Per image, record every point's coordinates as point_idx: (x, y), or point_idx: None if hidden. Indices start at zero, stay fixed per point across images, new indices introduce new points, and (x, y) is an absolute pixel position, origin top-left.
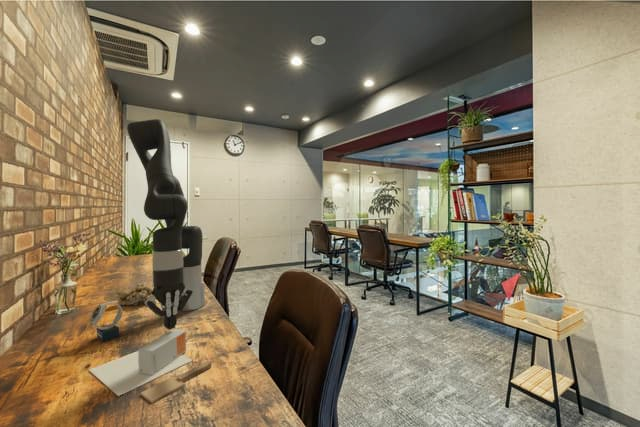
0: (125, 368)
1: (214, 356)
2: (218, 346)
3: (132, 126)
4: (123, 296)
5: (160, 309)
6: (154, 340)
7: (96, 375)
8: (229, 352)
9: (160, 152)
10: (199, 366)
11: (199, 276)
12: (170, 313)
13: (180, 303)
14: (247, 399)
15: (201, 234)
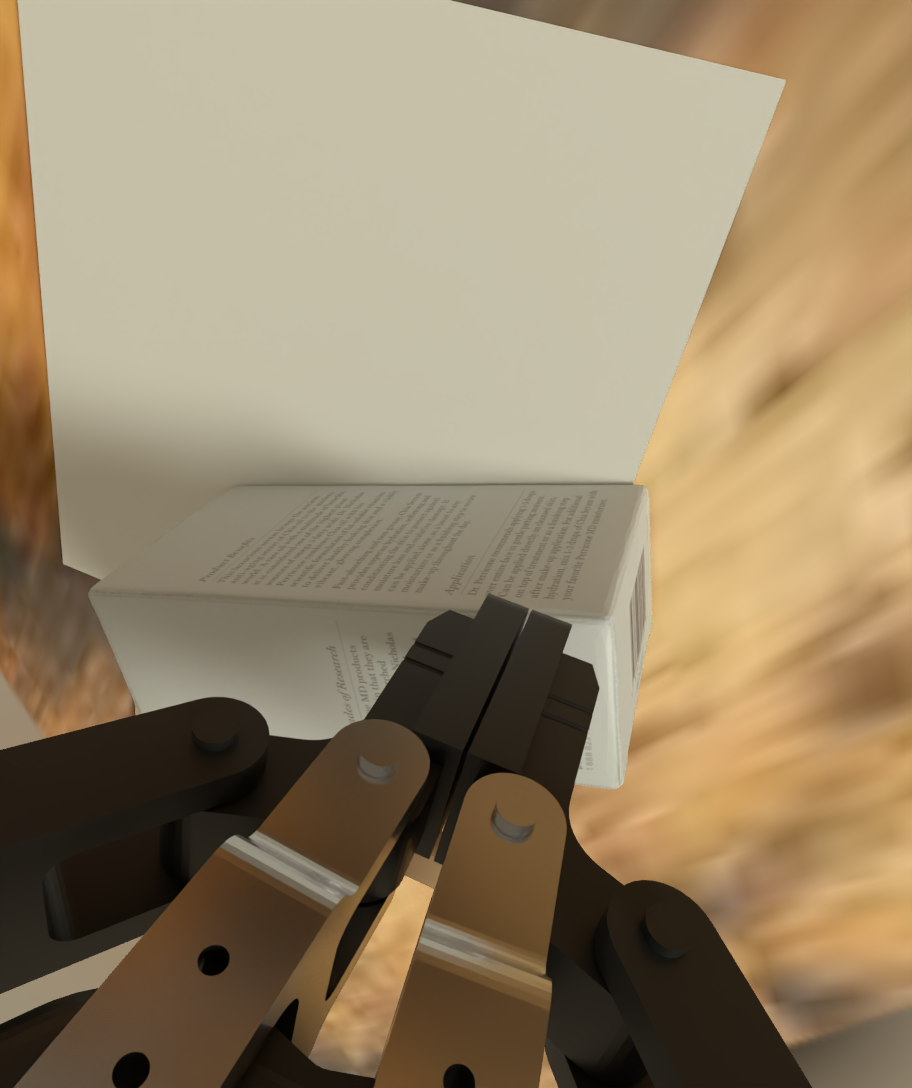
0: (211, 299)
1: (646, 866)
2: (834, 841)
3: None
4: None
5: (100, 949)
6: (263, 610)
7: (33, 137)
8: (737, 944)
9: None
10: (436, 869)
11: None
12: (374, 902)
13: (728, 1075)
14: (358, 1074)
15: None
